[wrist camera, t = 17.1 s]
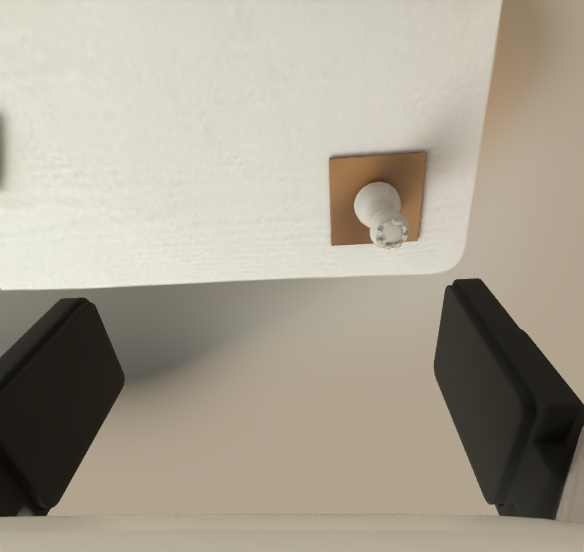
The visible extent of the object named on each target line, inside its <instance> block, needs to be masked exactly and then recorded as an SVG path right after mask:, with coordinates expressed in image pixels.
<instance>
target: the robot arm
mask: <svg viewBox="0 0 584 552" xmlns="http://www.w3.org/2000/svg"><path fill="white" fill-rule="evenodd" d="M434 372H435V377H436V379H437V382H438V385H439V387H440V390H441V392H442V395H443V397H444V399H445V402H446V404H447V407H448V409H449V411H450V414H451V417H452V419H453V422H454V424H455V427H456V429H457V432H458V434H459V436H460V439H461V441H462V444H463V446H464V449H465V451H466V454H467V456H468V459H469V461H470V464H471V466H472V469H473V471H474V473H475V476H476V478H477V481H478V483H479V486H480V488H481V491H482V493H483V495H484V498H485V500H486V501H487V503H489V504H495V506H496V508H497V511H498V513H499V515H500V516H490V515H488V516H487V515H428V514H427V515H426V514H250V515H249V514H248V515H247V514H246V515H114V516H113V515H112V516H47V514H48V512H49V510H50V509H51V508H52V507H54V506H55V505H57V504H58V502H59V501H60V499H61V497H62V496H63V494H64V492H65V490H66V488H67V486H68V485H69V483H70V481H71V479H72V477H73V476H74V474H75V472H76V470H77V469H78V467H79V465H80V463H81V462H82V460H83V458H84V456H85V454H86V453H87V451H88V449H89V447H90V445H91V444H92V442H93V440H94V438H95V436H96V434H97V433H98V431H99V429H100V427H101V426H102V424H103V422H104V420H105V418H106V417H107V415H108V413H109V411H110V409H111V408H112V406H113V404H114V402H115V401H116V399H117V397H118V395H119V393H120V391H121V390H122V388H123V386H124V380H125V378H124V373H123V371H122V368H121V366H120V364H119V361H118V359H117V356H116V354H115V352H114V349H113V347H112V344H111V342H110V339H109V337H108V335H107V333H106V330H105V328H104V325H103V323H102V320H101V318H100V316H99V313H98V311H97V308H96V306H95V305H94V304H93V303H91V302H89V301H88V300H87V299H86V298H64V299H60V300H59V301H58V302H57V303H56V304H55V305H54V306H53V307H52V308H51V309H50V310H49V311H48V312H46V314H45V315H43V317H41V318H40V319H39V320H38V321H37V322H36V323H35V324H34V325H33V326H32V327H31V328H30V329H29V330H28V331H27V332H26V333H25V334H24V335H23V336H22V337H21V338H20V339H19V340H18V341H17V342H16V343H15V344H14V345H13V346H12V347H11V348H10V349H9V350H8V351H7V352H6V353H5V354H3V355H2V356H1V358H0V552H584V404H583V403H582V402H581V400H580V399H579V398H578V397H577V395H576V394H575V393H574V392H573V390H572V389H571V388H570V387H569V385H568V384H567V383H566V382H565V381H564V379H562V377H561V376H560V374H559V373H558V372H557V371H556V369H555V368H554V367H553V366H552V364H551V363H550V362H549V361H548V360H547V358H546V357H545V356H544V354H543V353H542V352H541V351H540V349H539V348H538V347H537V346H536V344H535V343H534V342H533V341H532V339H531V338H530V337H529V336H528V334H527V333H525V332H524V331H523V330H521V329H520V328H519V327H518V325H517V324H516V323H515V322H514V321H513V319H512V318H511V317H510V316H509V314H508V313H507V312H506V310H505V309H504V308H503V307H502V305H501V304H500V303H499V301H498V300H497V299H496V298H495V296H494V295H493V294H492V293H491V292H490V290H489V289H488V288H487V286H486V285H485V284H484V283H483V281H482V280H481V279H478V278H477V279H456V280H455V281H454V282H453V284H452V285H448V286H447V287H446V289H445V295H444V301H443V308H442V314H441V321H440V327H439V334H438V341H437V347H436V353H435V360H434Z"/></svg>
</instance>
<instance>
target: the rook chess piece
mask: <svg viewBox="0 0 584 552" xmlns="http://www.w3.org/2000/svg"><path fill="white" fill-rule="evenodd" d="M354 209H355V213H356V215H357V217H358V218H359V220H360V221H361V223H363V224H364V225H366V226H367V227H370V238H371V239H372V241H373V243H374V244H376V245H377V246H379V247H381V248H384V249H389V250H390V248H394V247H396V249H397V248H398V247H400V246H402V245H401V244H402V243H403V242H404V241H406V239H407V237H408V234H409V231H410V228H409V223H408V221H407V219H406V217H404V216H403V215H401V214H400V213H399V212H400V209H401V200H400V197H399V195H398V193H397V191H396V189H395V188H394V187H392V186H391V185H390V184H388V183H383V182H375V183H370V184H368V185H367V186H365V187H364V188H362V189H361V190H360V192H359V193H358V194H357V196H356V199H355V202H354Z"/></svg>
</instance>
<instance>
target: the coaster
mask: <svg viewBox="0 0 584 552" xmlns="http://www.w3.org/2000/svg"><path fill="white" fill-rule="evenodd" d="M426 154H427V153H426V152H415V153H401V154H387V155H373V156H359V157H345V158H331V159H329V182H330V219H331V246H335V245H353V244H371V243H373V241H372V239H371V238H370V227H367V226H366V225H364V224H363V223H361V221H360V220H359V218H358V217H357V215H356V213H355V209H354V202H355V199H356V196H357V194H358V193H359V192H360V190H361V189H362V188H364V187H365V186H367V185H368V184H370V183H375V182H383V183H388V184H390V185H391V186H392V187H394V188H395V189H396V191H397V193H398V195H399V197H400V200H401V209H400V212H399V213H400V214H401V215H403V216H404V217H406V219H407V221H408V223H409V228H410V231H409V234H408V237H407V239H406V241H404V242H407V241H418V233H419V223H420V213H421V203H422V193H423V183H424V173H425V163H426Z"/></svg>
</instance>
